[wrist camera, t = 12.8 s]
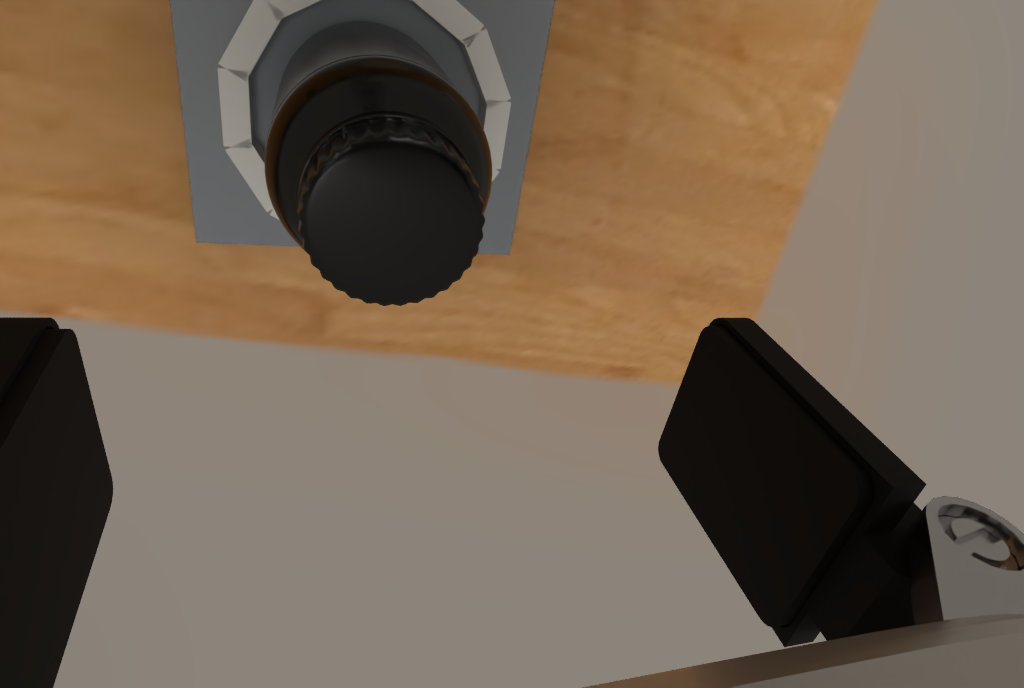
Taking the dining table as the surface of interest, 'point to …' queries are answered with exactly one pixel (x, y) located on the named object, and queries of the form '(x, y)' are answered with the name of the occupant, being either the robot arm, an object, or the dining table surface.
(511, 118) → the board
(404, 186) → the supplement bottle
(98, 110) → the dining table surface
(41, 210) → the dining table surface
